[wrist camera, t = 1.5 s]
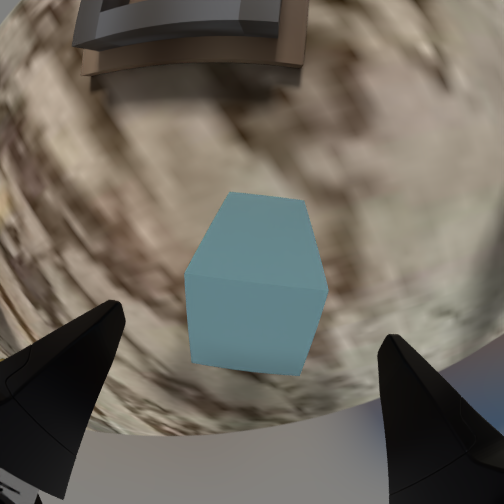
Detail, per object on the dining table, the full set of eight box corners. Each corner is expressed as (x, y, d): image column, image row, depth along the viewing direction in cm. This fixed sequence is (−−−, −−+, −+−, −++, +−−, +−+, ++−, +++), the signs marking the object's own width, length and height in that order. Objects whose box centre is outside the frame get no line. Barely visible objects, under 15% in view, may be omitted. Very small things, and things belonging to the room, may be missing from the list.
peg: (303, 200, 14) (328, 290, 7) (292, 264, 16) (299, 375, 9) (229, 191, 14) (184, 273, 7) (225, 256, 16) (191, 362, 9)
